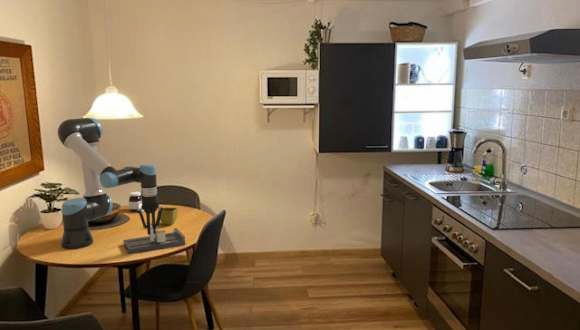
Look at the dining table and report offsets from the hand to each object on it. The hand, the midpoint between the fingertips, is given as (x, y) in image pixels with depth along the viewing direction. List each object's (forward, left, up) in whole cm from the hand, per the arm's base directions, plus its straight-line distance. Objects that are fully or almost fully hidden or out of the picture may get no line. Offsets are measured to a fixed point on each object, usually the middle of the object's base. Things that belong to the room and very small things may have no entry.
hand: (151, 240), depth 236 cm
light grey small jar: (+3, +8, -1) cm, 9 cm away
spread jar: (+8, +77, -4) cm, 78 cm away
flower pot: (+18, +37, -4) cm, 42 cm away
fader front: (+4, 0, -1) cm, 5 cm away
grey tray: (+2, +4, -4) cm, 6 cm away
